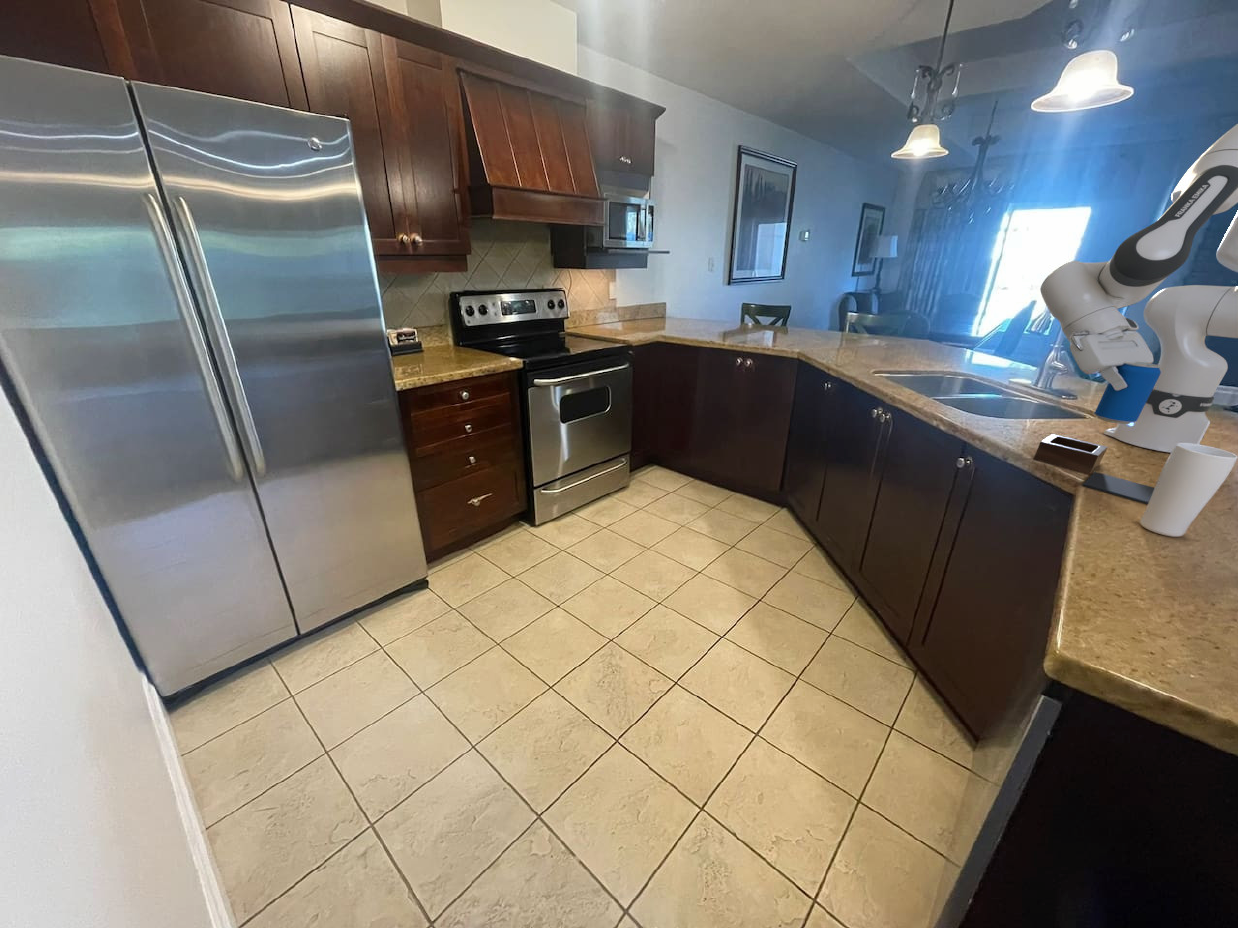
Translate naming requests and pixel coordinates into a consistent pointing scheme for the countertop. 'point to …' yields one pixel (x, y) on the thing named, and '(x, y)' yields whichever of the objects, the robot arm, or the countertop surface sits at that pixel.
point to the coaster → (1119, 487)
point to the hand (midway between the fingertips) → (1133, 387)
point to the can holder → (1070, 453)
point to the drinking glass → (1186, 487)
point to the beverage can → (1128, 393)
